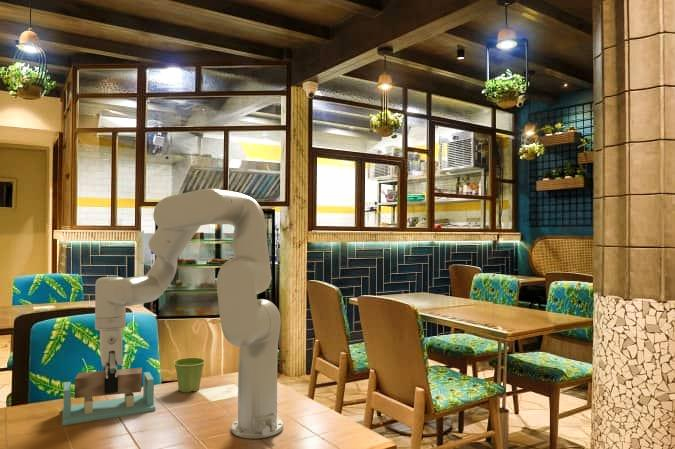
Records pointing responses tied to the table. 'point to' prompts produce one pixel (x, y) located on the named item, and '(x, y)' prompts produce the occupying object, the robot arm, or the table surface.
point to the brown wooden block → (94, 382)
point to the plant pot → (189, 373)
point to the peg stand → (108, 404)
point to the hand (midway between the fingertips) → (110, 388)
